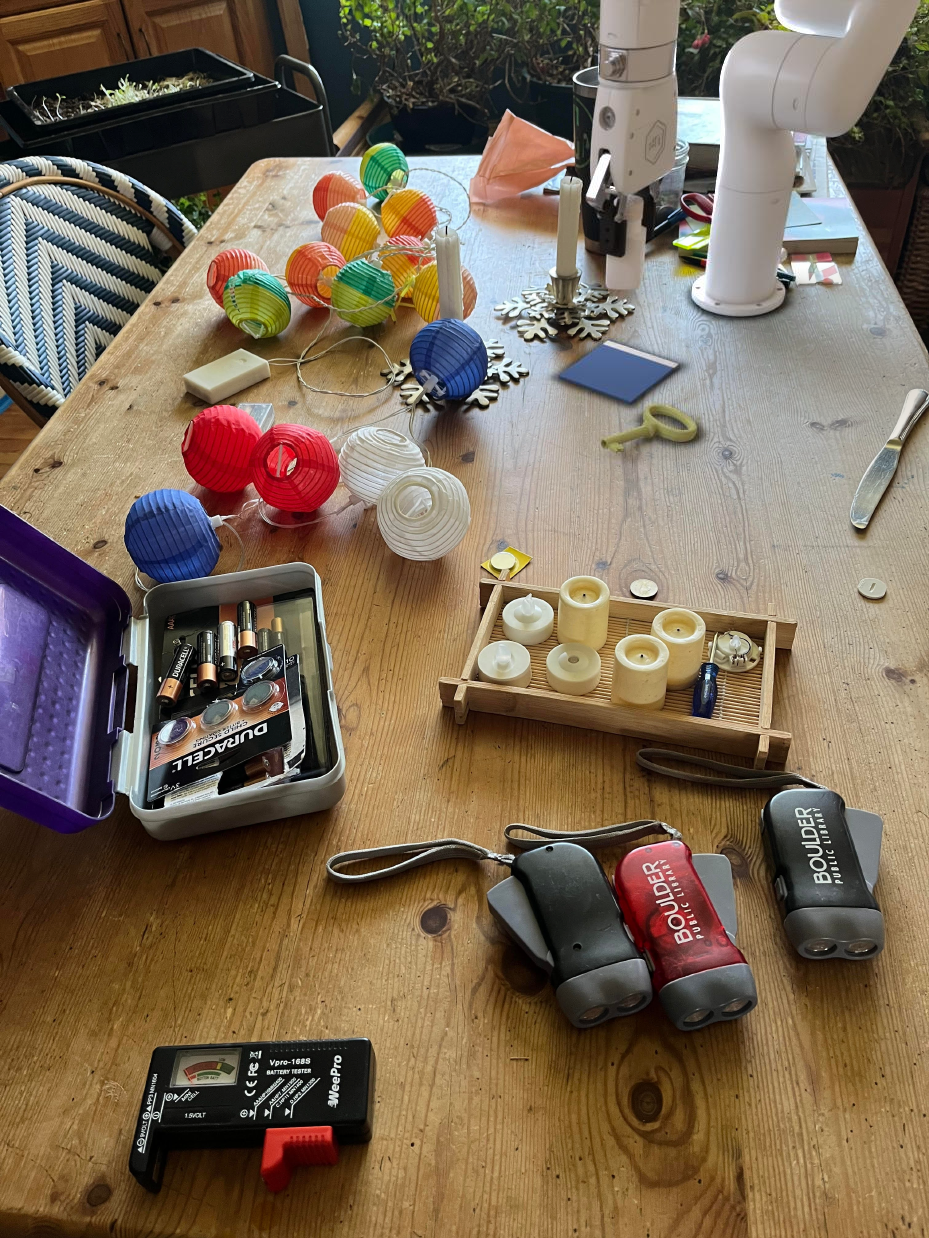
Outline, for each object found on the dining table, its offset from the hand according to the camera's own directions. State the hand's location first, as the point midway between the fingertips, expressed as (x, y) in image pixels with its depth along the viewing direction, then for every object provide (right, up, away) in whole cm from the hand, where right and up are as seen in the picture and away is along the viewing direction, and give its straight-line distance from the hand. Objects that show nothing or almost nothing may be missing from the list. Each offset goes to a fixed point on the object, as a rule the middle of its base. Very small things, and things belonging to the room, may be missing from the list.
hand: (626, 243), depth 99 cm
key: (+3, -22, +2) cm, 22 cm away
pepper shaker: (0, -3, +4) cm, 5 cm away
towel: (+1, -11, +12) cm, 16 cm away
